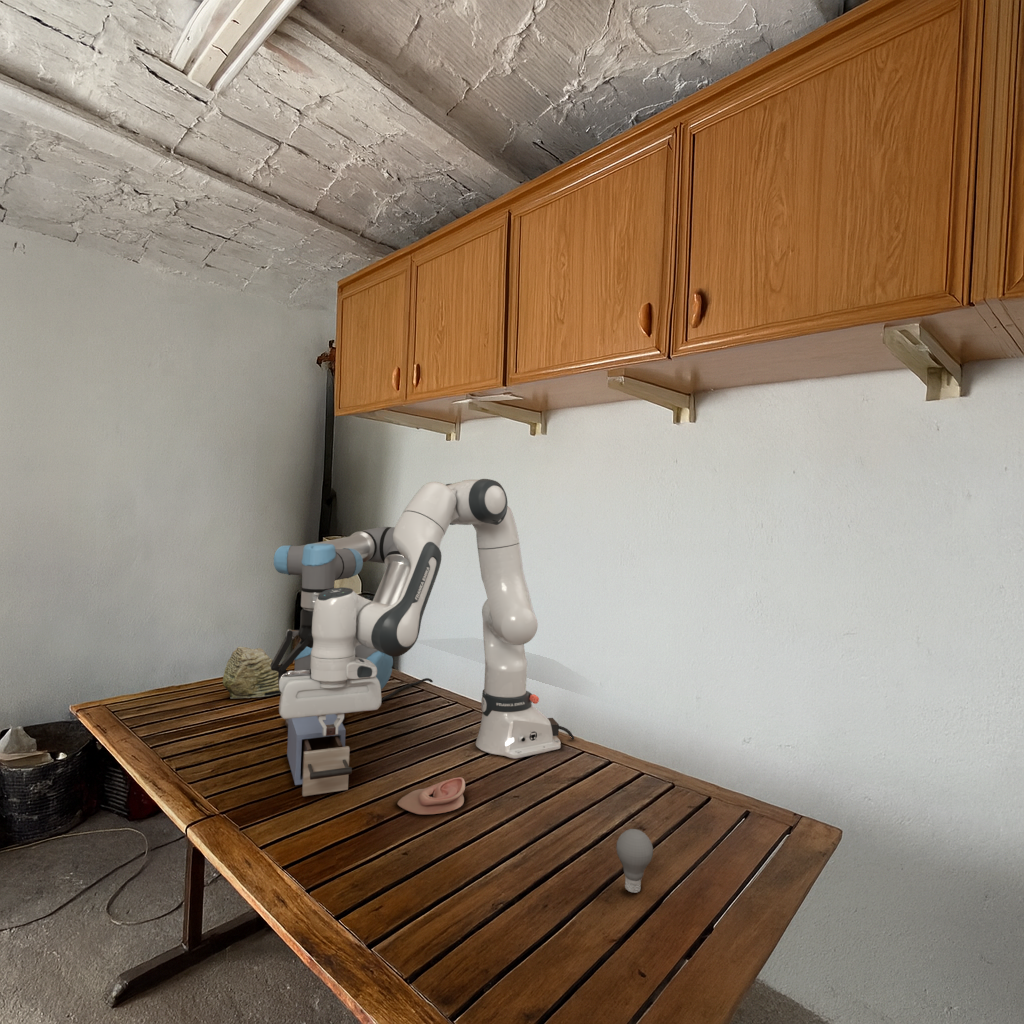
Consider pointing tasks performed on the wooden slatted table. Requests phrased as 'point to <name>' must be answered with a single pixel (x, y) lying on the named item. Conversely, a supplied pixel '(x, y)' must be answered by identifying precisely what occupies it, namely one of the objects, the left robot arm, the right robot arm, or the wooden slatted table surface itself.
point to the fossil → (250, 674)
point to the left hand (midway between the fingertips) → (314, 696)
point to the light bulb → (634, 857)
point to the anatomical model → (435, 798)
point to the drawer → (324, 765)
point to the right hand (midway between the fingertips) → (330, 734)
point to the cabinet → (306, 730)
